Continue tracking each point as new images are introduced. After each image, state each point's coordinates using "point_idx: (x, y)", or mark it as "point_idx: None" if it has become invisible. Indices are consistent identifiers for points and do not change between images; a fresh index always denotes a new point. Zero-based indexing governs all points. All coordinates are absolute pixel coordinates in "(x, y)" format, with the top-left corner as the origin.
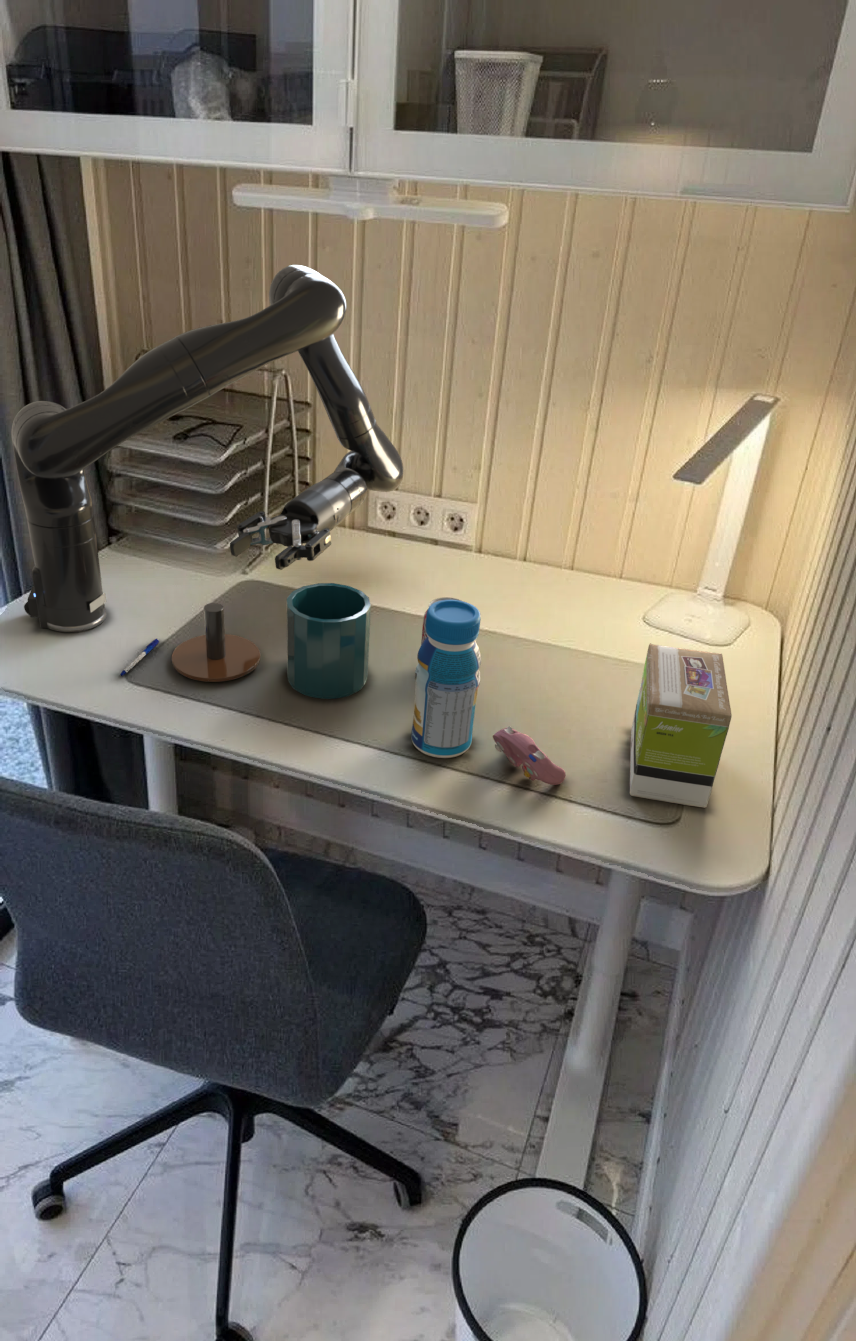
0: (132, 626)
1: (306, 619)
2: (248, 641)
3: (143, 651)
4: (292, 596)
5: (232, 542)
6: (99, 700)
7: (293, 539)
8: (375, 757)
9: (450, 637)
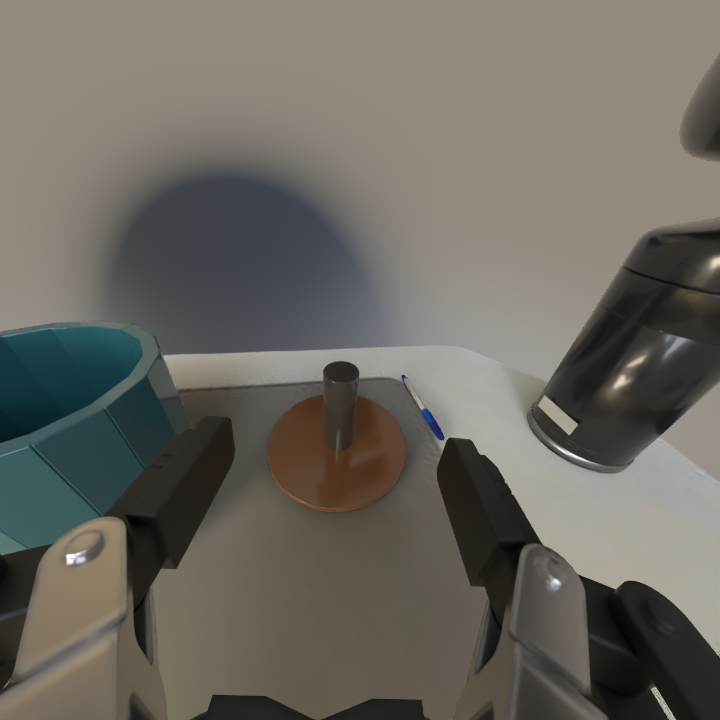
0: (512, 459)
1: (102, 321)
2: (316, 501)
3: (425, 408)
4: (143, 360)
5: (470, 444)
6: (386, 354)
7: (117, 609)
8: None
9: None
